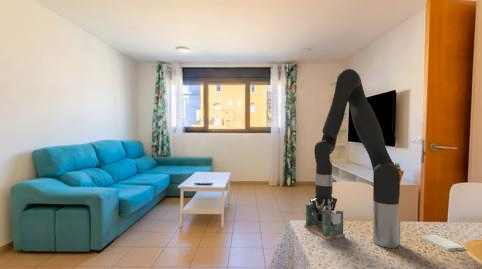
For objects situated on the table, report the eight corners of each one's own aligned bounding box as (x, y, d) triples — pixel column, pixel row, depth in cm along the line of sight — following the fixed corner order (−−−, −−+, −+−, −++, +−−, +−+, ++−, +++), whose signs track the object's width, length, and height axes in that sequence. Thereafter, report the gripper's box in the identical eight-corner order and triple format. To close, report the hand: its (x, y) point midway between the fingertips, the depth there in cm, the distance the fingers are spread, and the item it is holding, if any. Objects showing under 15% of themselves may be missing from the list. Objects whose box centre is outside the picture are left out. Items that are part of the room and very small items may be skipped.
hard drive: (420, 235, 110) (447, 248, 98) (436, 234, 112) (465, 246, 99) (420, 239, 110) (447, 252, 98) (436, 238, 112) (465, 250, 99)
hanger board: (321, 224, 126) (321, 202, 126) (344, 236, 111) (344, 211, 111) (304, 226, 123) (304, 203, 123) (325, 239, 108) (326, 213, 108)
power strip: (314, 215, 127) (314, 202, 127) (340, 228, 109) (341, 214, 109) (307, 215, 125) (307, 203, 125) (333, 229, 108) (333, 215, 108)
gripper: (315, 186, 111) (315, 225, 111) (342, 184, 116) (341, 221, 116) (305, 183, 118) (305, 219, 118) (331, 181, 123) (330, 216, 123)
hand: (323, 220), depth 117 cm, fingers closed on power strip, 4 cm apart
